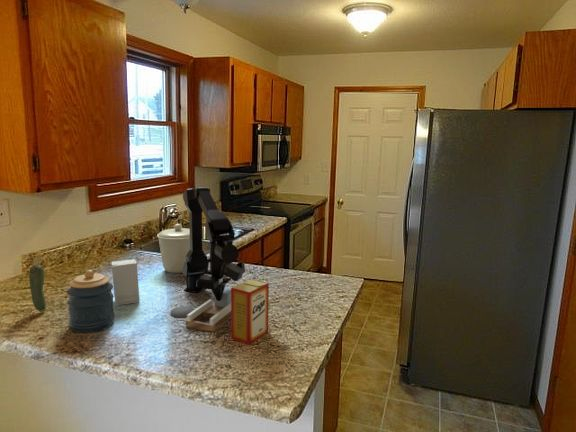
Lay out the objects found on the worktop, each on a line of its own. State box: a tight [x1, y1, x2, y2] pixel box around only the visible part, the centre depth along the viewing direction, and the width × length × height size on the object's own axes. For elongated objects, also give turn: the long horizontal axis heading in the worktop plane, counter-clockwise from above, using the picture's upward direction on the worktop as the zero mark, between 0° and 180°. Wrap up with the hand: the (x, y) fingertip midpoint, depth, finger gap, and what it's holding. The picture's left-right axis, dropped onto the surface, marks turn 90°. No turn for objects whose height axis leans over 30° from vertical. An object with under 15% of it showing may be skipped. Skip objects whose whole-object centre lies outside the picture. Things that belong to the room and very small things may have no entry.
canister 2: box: [156, 223, 190, 274], centre depth 185 cm, size 18×18×21 cm
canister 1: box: [66, 269, 116, 333], centre depth 129 cm, size 13×13×18 cm
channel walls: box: [186, 298, 231, 326], centre depth 135 cm, size 9×14×2 cm, turn 161°
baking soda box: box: [230, 278, 270, 345], centre depth 124 cm, size 10×6×16 cm
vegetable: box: [28, 253, 47, 313], centre depth 137 cm, size 4×4×20 cm
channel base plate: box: [185, 299, 231, 333], centre depth 140 cm, size 10×25×2 cm, turn 161°
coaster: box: [170, 306, 196, 319], centre depth 141 cm, size 8×8×1 cm
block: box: [214, 286, 232, 308], centre depth 143 cm, size 5×6×5 cm
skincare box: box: [111, 258, 141, 306], centre depth 148 cm, size 8×6×15 cm
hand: (219, 300), depth 139 cm, fingers closed
